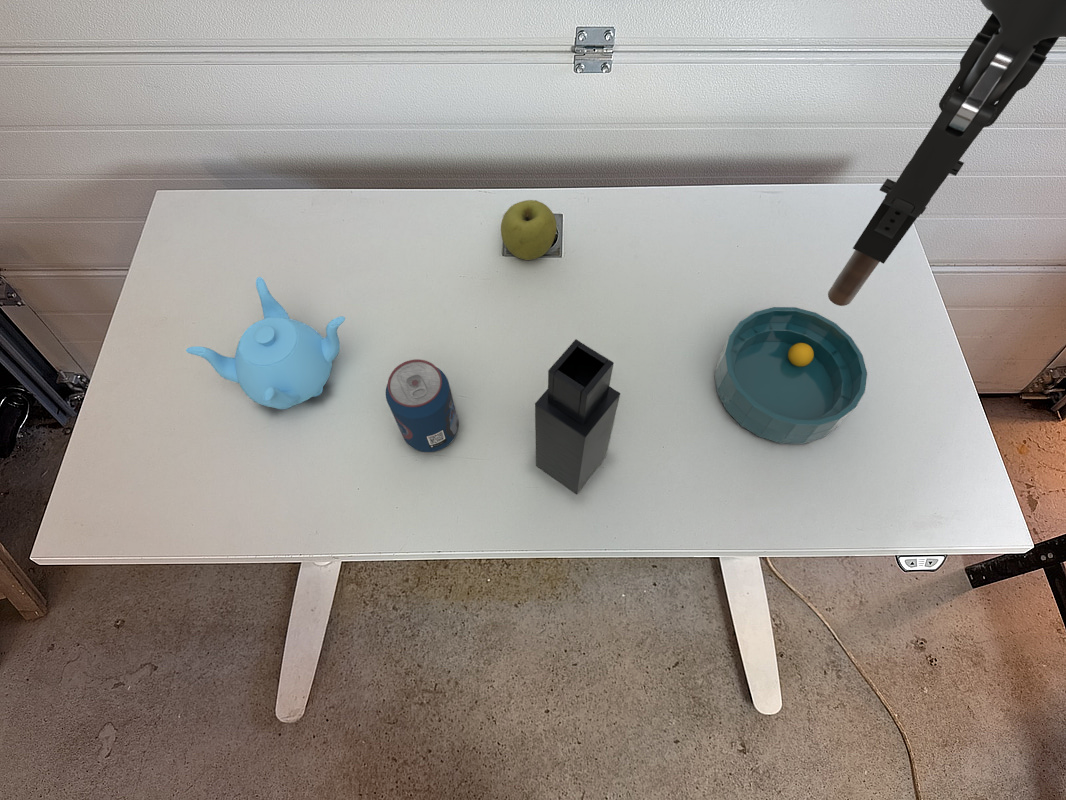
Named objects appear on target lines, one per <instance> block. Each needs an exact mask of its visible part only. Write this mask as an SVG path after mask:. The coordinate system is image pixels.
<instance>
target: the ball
mask: <svg viewBox="0 0 1066 800" xmlns="http://www.w3.org/2000/svg"><path fill="white" fill-rule="evenodd" d="M813 357H814V352H813V349H812V348H811V346H809V345H808V344H806V343H797V344H795V345H793V346H792V347H791V348H790V349H789V352H788V358H789V361H790V362H791V363H792V364H793V365H795V366H798V367H803V366H806V365H808V364H810V363H811V361H812V360H813Z"/></svg>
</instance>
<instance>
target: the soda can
mask: <svg viewBox="0 0 1066 800" xmlns="http://www.w3.org/2000/svg"><path fill="white" fill-rule="evenodd" d="M385 400H386V403H387V405H388V408H389V409H390V412H391V413H392V416H393V418H394V421H395V423H396V424H397V427H398V429H399V431H400V433H401V437H402V438H403V440H404V441H405V443H406V444H407V445H408V446H410V447H411V448H412V449H414V450H415V451H418V452H421V453H422V452H423V453H433V452H437V451H441V450H443V449H445V448H446V447H448V446H449V445H450V444H451V443H452V442H453V441H454V439H455V438H456V436H457V435H458V431H459V426H460V421H459V416H458V413H457V408H456V406H455V405H456V404H455V401H454V398H453V393H452V390H451V386H450V382H449V380H448V377H447V376H446V374H445V373H444V371H443V370H442V369H440V368H439V367H437V366H436V365H435V364H434V363H432V362H430V361H428V360H425V359H419V358H418V359H417V358H416V359H415V358H414V359H409V360H405V361H404V362H402V363H400V364H398V365H397V366H396V367H395V368H394V369H393V370H392V371H391V373H390V374H389V377H388V379H387V384H386V387H385Z"/></svg>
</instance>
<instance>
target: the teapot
mask: <svg viewBox="0 0 1066 800" xmlns="http://www.w3.org/2000/svg"><path fill="white" fill-rule="evenodd" d="M255 287H256V290H257V293H258V296H259V301H260V305H261V309H262V315H263V319H260V320H258V321H256V322H254V323H253V324H251V325H249V327H247V328H246V330H244V332H243V334H242V335H241V337H240V338H239V341H238V342H237V343H238V344H237V347H236V350H235V355H234V357H232V356H225V355H222V354H221V353H218V352H217V351H216V350H213V349H211V348H208V347H206V346H199V345H196V346H195V345H193V346H189V347H187V348H186V349H185V352H186V353H188V354H190V355H194V356H196V357H200V358H202V359H204V360H206V361H207V362H208V363H209V365H210V366H211V367H212V368H213V370H214V371H215V372H216V373H217V374H218V375H219V376H220V377H221V378H223V379H225V380H227V381H230V382H233V383H236V384H239V387H240V388H241V390H242V391H243V392H244V394H245V395H246V396H247V397H248V398H249V399H250V400H252V402H254V403H256V404H259V405H261V406H264V407H267V408H268V407H269V408H273V409H276V410H287V409H290V408H292V407H294V406H297V405H299V404H302V403H304V402H306V401H308V400H309V399H311V398H316V397H318V396H320V395H321V394H322V393H323V391H324V386H325V385H326V384H327V381H328V380H329V378H330V375H331V372H332V369H333V361H334V360H335V359H336V358H337V356H338V355H339V353H340V348H341V344H340V343H341V342H340V338H339V335H338V329H339V327H340V326H341V325H342V324H343V323H344V322H345V320H346V316H337V317H335V318H333V319H331V320H330V321H329V322H328V324H327V325H326V327H325V332H326V336H324V337H323V336H322V334H320V333H319V332H318V331H317V330H316V329H315V328H313V327H312V326H310V325H309V324H307V323H304V322H303V321H300V320H297V319H292V318H290V316H289V313H288V312H287V310H286V309H285V308H284V306H282V304H281V303H280V302H278V300H277V299H276V298H275V297H274V296H273V295H272V293H271V292H270V290H269V289H268V288H269V287H268V285H267V283H266V281H265V280H264V278H263V277H262V276H258V277H256V279H255Z"/></svg>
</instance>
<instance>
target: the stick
mask: <svg viewBox="0 0 1066 800" xmlns="http://www.w3.org/2000/svg"><path fill="white" fill-rule="evenodd" d="M879 264H880V262H879V261H877V260H875V259H873V258H871V257H869V256H867V255H865V254H863V253H861V252H859V251H857V250H855V249H854V251H853V253H852V254H851V255H850V257H849V258H848V260H847V262H846V263H845V265H844V267H843V268H842V270H841V271H840V272H839V274H838V276H837V278H836V279H835V280H834V282H833V284H832V285H831V287H830V288H829V290H828V292H827V298H828V300H829V301H830V302H831V303H832V304H834V305H835V306H839V307H840V306H841V307H845V306H848V305H850V304H851V303H852V302H853V300H854V298H855V297H856V296H857V294H858V293H859V292H860V290H861V289H862V287H863V286H864V285H865V283H866V282H867V281H868V279H869V278H870V277H871V275H872V273H873V272H874V271H875V269H877V267H878V265H879Z"/></svg>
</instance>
